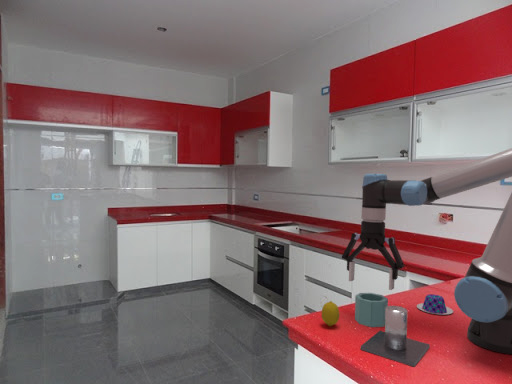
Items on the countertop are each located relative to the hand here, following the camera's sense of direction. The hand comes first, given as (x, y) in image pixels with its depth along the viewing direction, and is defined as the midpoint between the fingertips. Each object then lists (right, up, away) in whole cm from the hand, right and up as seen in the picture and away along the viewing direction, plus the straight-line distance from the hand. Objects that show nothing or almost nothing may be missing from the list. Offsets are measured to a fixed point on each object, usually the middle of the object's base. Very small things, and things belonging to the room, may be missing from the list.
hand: (370, 284), depth 119 cm
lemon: (-14, -12, -5) cm, 19 cm away
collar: (0, -12, 0) cm, 12 cm away
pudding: (+27, -13, +12) cm, 33 cm away
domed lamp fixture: (0, -13, -20) cm, 23 cm away
